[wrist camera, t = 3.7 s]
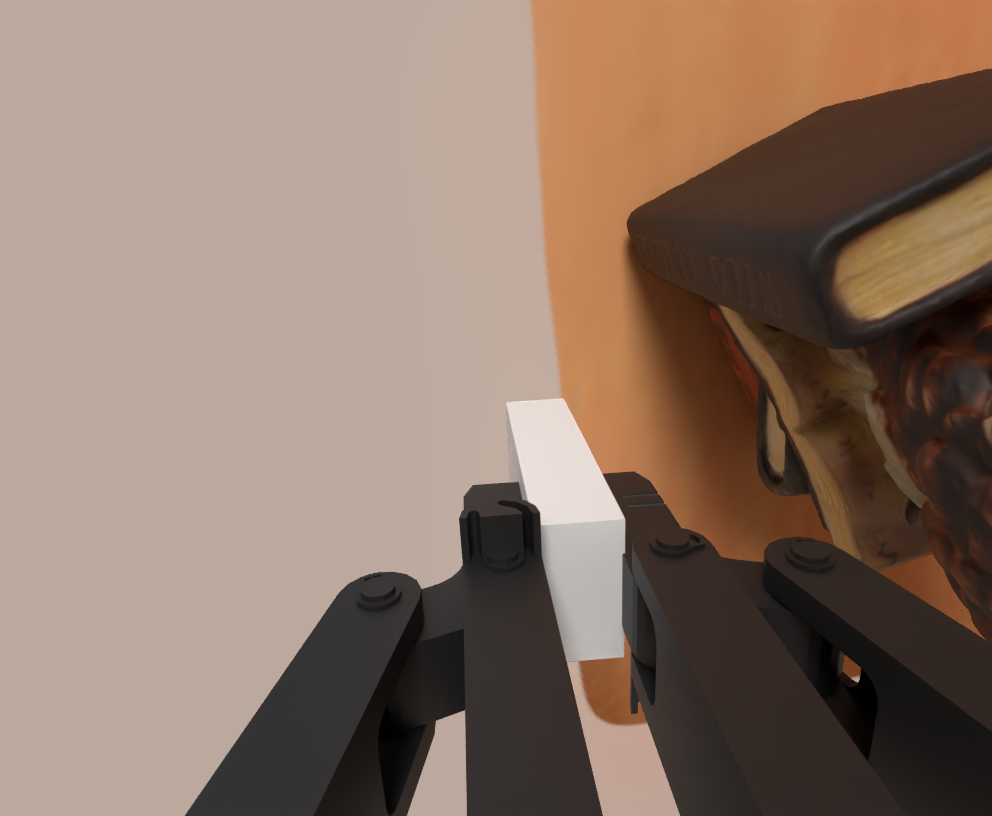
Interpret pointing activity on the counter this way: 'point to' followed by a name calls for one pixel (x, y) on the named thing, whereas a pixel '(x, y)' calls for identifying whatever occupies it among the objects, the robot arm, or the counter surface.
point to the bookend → (859, 316)
